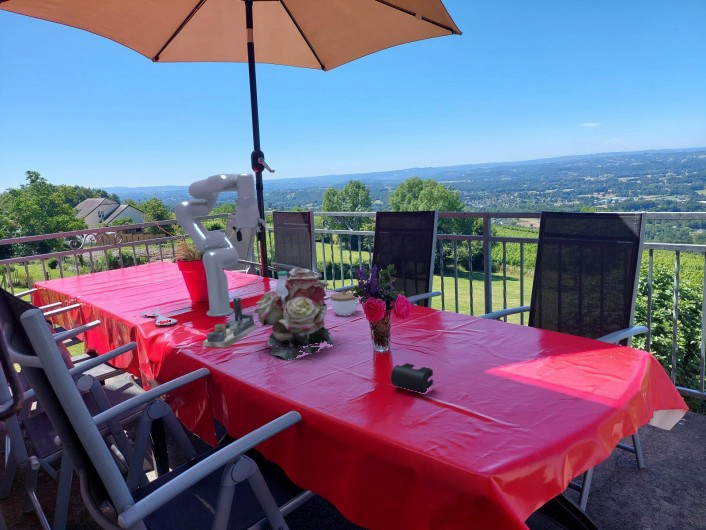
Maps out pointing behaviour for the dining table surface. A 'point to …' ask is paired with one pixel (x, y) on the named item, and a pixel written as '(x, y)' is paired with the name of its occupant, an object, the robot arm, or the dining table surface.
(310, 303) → the rose bouquet
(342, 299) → the lidded bowl
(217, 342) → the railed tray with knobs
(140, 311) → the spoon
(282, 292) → the milk bottle
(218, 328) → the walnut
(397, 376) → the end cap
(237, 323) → the ram
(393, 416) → the dining table surface
